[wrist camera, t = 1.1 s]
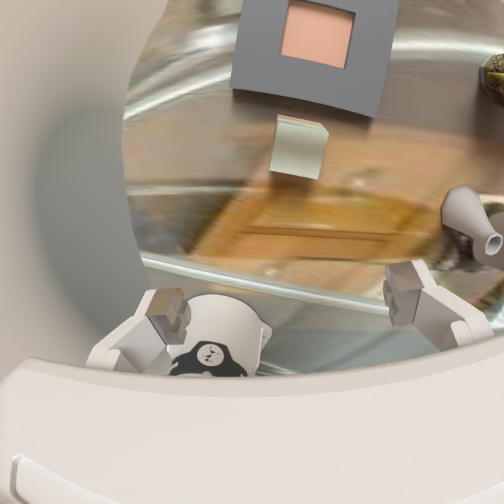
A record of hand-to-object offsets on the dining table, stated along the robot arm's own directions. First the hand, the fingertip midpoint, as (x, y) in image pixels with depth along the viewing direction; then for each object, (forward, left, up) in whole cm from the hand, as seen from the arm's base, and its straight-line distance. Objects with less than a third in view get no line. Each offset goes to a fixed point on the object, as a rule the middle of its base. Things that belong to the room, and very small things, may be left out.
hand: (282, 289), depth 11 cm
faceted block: (0, -2, -26) cm, 26 cm away
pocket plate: (+13, -2, -26) cm, 29 cm away
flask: (-3, -28, -26) cm, 38 cm away
